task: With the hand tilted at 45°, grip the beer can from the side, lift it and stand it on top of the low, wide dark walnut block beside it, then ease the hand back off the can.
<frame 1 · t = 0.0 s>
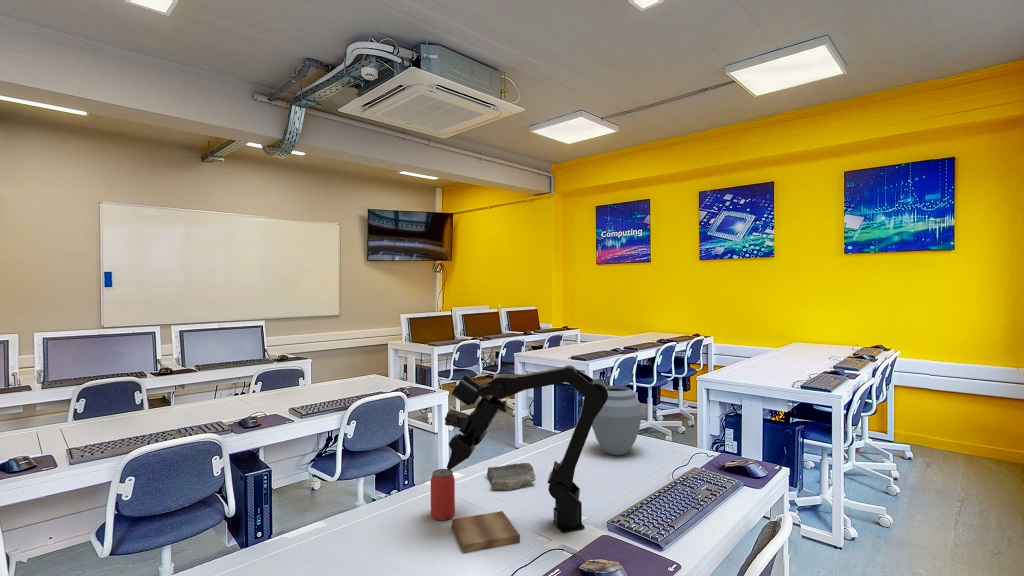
hand: (453, 462, 136), 15 cm above the table, tool tilted 35°, fingers open, 9 cm apart
vase: (615, 452, 188), on the table
grey irregular stone: (512, 482, 161), on the table
beer can: (442, 516, 137), on the table
walnut block: (484, 536, 126), on the table
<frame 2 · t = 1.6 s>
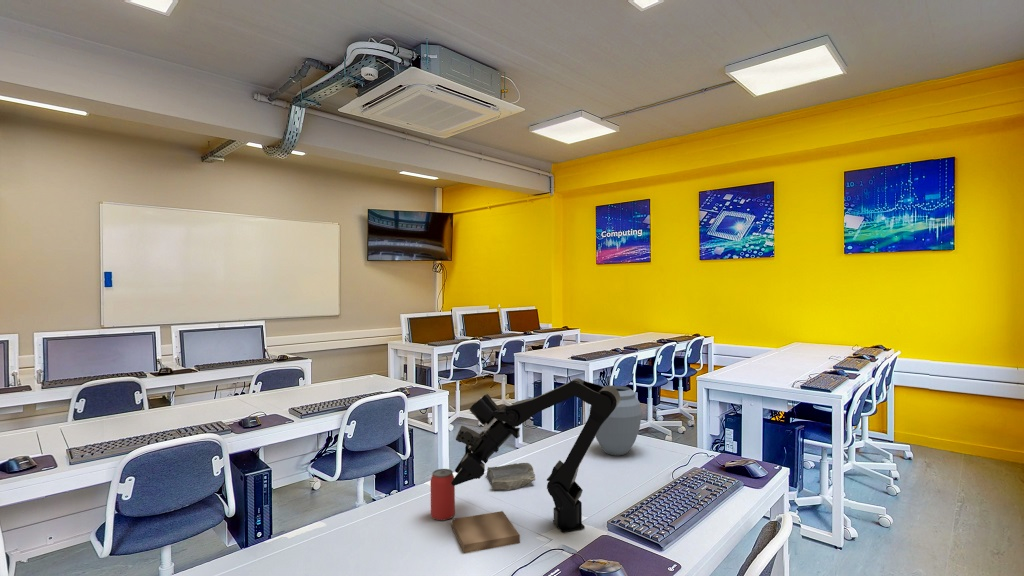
hand: (454, 477, 137), 10 cm above the table, tool tilted 45°, fingers open, 9 cm apart
nothing on the table moved.
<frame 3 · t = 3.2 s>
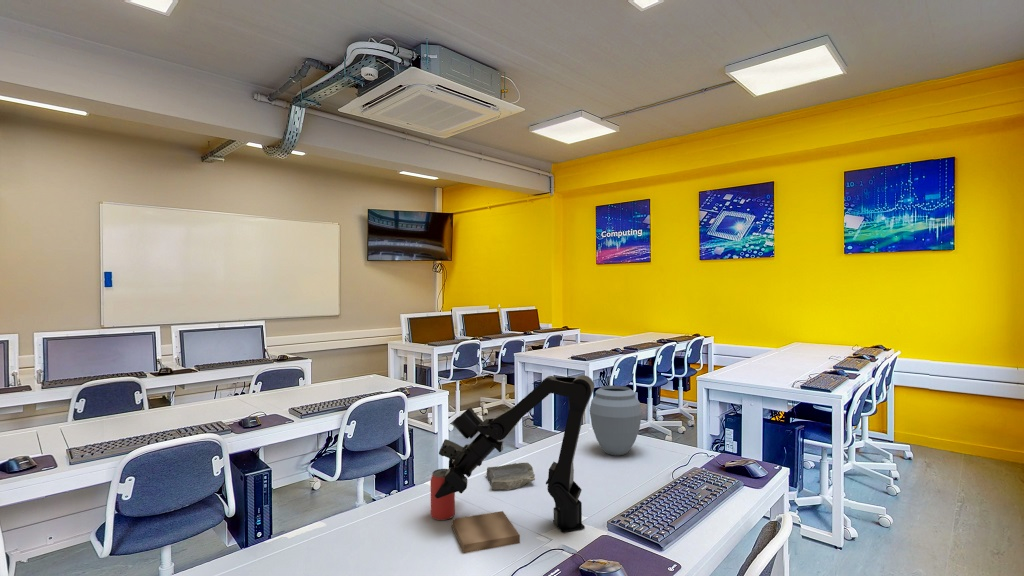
hand: (437, 491, 137), 7 cm above the table, tool tilted 45°, fingers closed on beer can, 6 cm apart
beer can: (442, 516, 137), on the table, touching gripper
everything else where it was.
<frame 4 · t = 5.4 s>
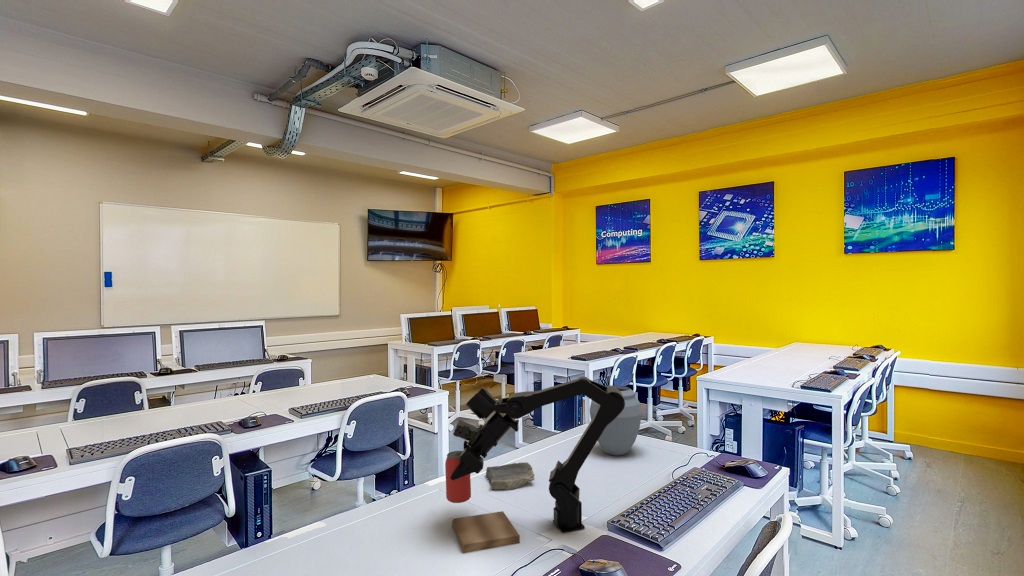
hand: (452, 474, 133), 13 cm above the table, tool tilted 45°, fingers closed on beer can, 6 cm apart
beer can: (458, 499, 133), point 6 cm above the table, touching gripper
everything else where it was.
when the fingers open (10 cm above the table, at t = 7.6 s): beer can drops 1 cm, resting on walnut block.
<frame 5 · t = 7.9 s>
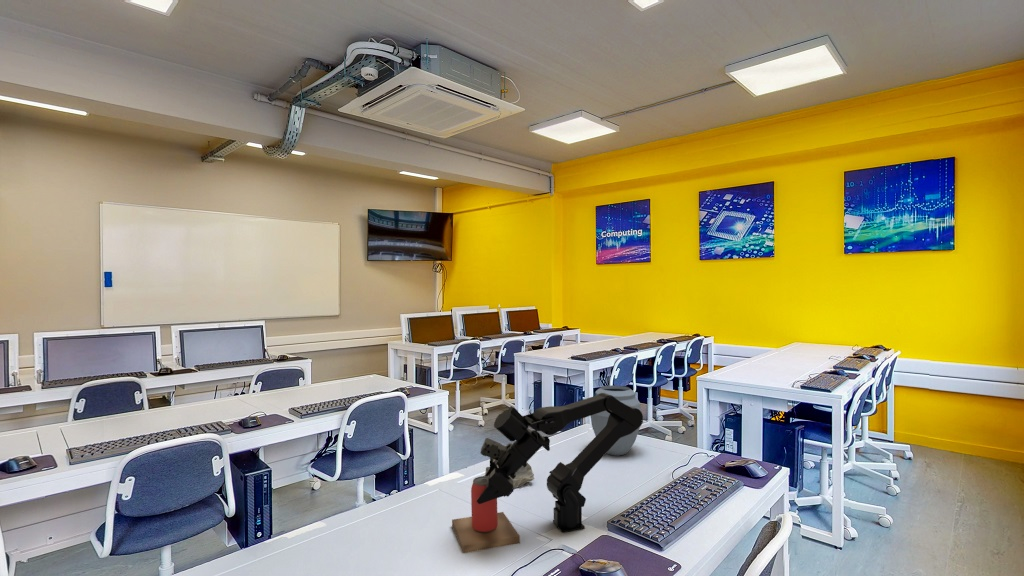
hand: (478, 494, 126), 10 cm above the table, tool tilted 45°, fingers open, 9 cm apart
beer can: (484, 528, 126), point 2 cm above the table, touching walnut block
walnut block: (484, 537, 126), on the table, touching beer can
everything else where it was.
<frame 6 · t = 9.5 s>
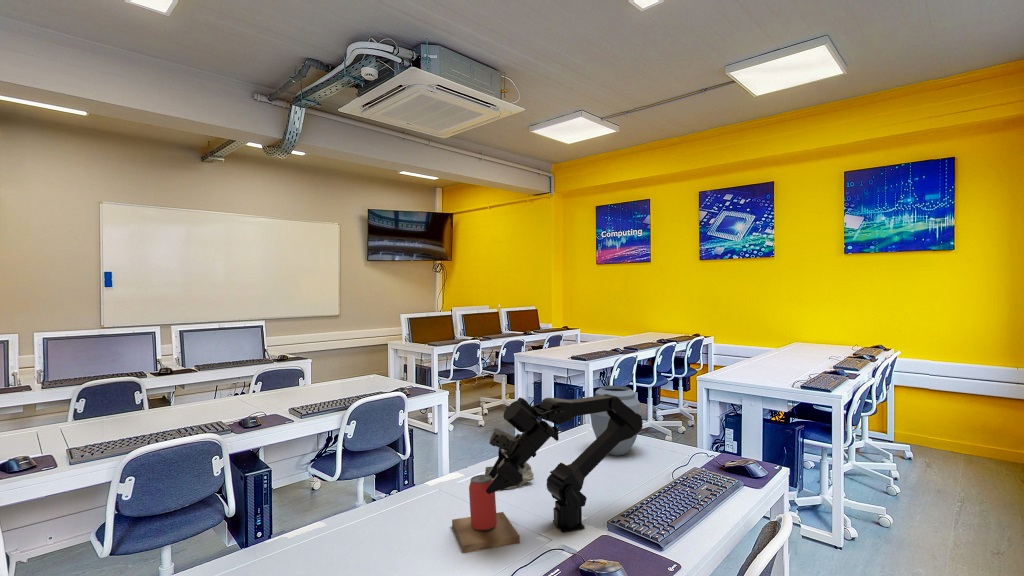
hand: (487, 485, 126), 12 cm above the table, tool tilted 45°, fingers open, 9 cm apart
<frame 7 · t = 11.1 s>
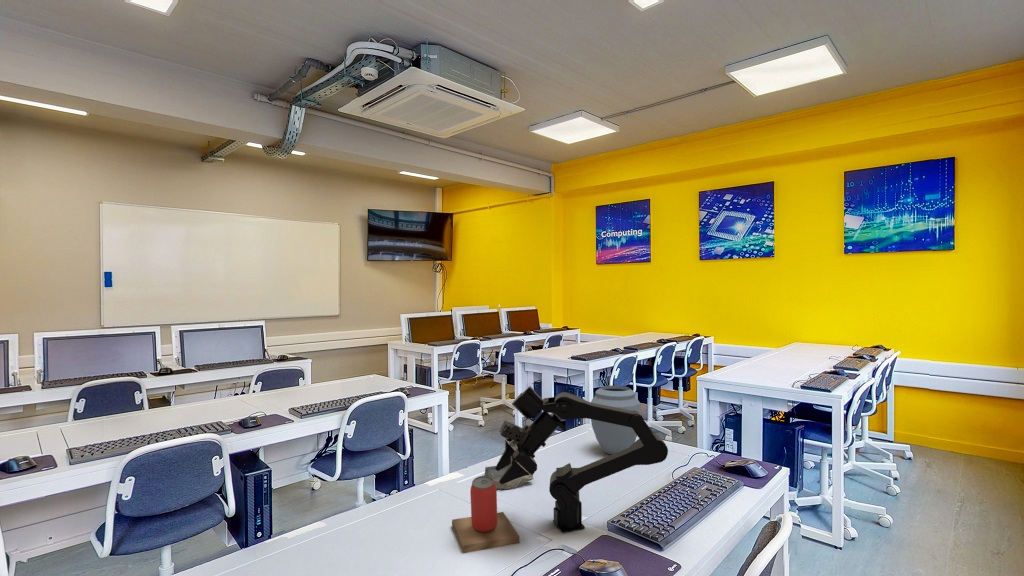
hand: (498, 476, 129), 14 cm above the table, tool tilted 45°, fingers open, 9 cm apart
beer can: (484, 525, 126), point 2 cm above the table
walnut block: (484, 537, 126), on the table
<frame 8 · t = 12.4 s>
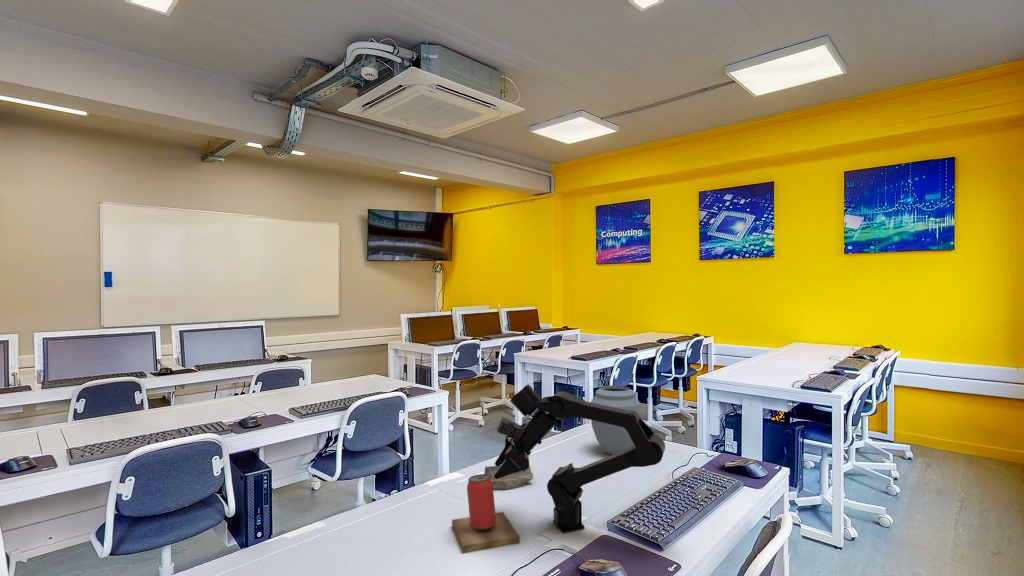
hand: (495, 471, 133), 14 cm above the table, tool tilted 45°, fingers open, 9 cm apart
beer can: (483, 526, 126), point 2 cm above the table, touching walnut block
walnut block: (484, 537, 126), on the table, touching beer can
at the end: beer can inside the target area on the walnut block (0.2 cm from its centre), point 2.8 cm above the walnut block's base; beer can tilted 9°; the gripper is holding nothing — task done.
